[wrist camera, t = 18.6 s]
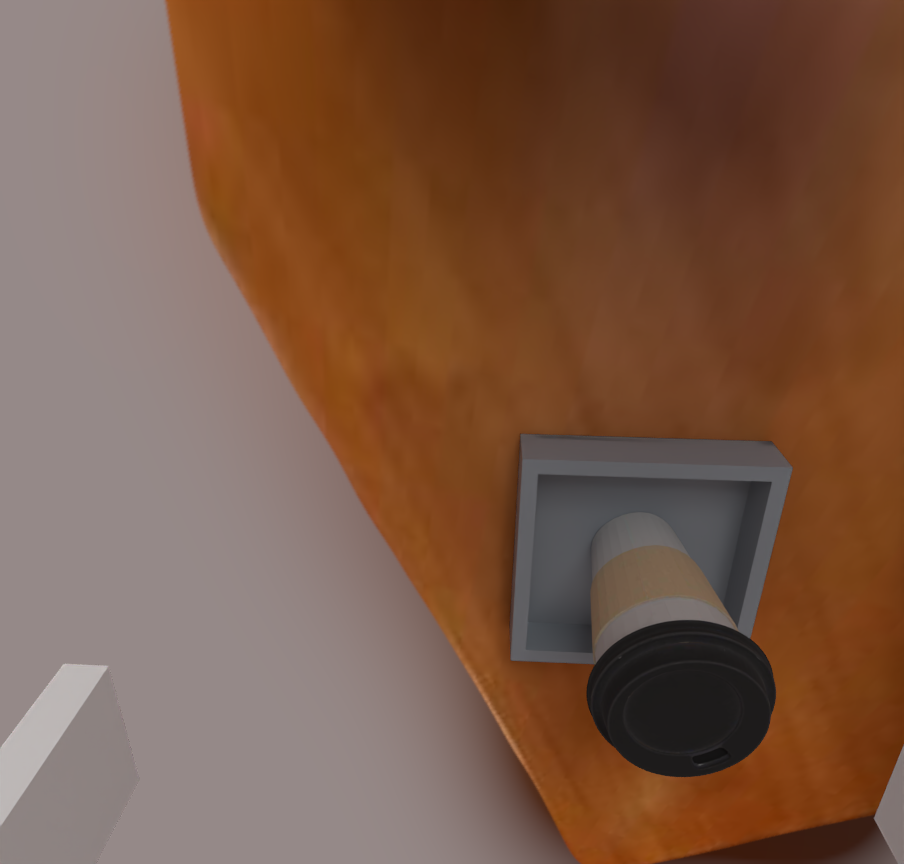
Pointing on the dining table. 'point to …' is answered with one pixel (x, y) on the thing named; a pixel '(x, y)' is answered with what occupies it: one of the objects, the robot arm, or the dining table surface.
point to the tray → (627, 491)
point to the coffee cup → (670, 657)
